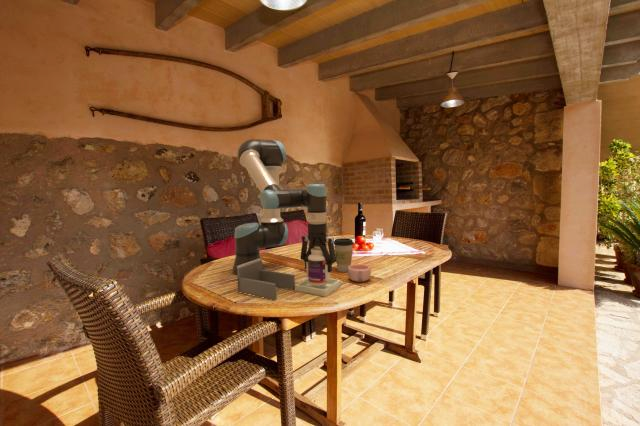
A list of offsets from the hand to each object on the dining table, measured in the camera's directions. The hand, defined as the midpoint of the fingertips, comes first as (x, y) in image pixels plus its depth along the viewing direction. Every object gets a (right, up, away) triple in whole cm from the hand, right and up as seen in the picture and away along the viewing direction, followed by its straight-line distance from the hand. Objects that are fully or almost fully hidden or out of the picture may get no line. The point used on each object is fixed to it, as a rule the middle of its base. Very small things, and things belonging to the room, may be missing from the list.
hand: (318, 278), depth 123 cm
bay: (-21, -5, -1) cm, 21 cm away
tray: (0, -4, 0) cm, 4 cm away
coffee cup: (+12, -2, +26) cm, 29 cm away
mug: (+18, -3, +12) cm, 22 cm away
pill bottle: (0, -2, 0) cm, 2 cm away
